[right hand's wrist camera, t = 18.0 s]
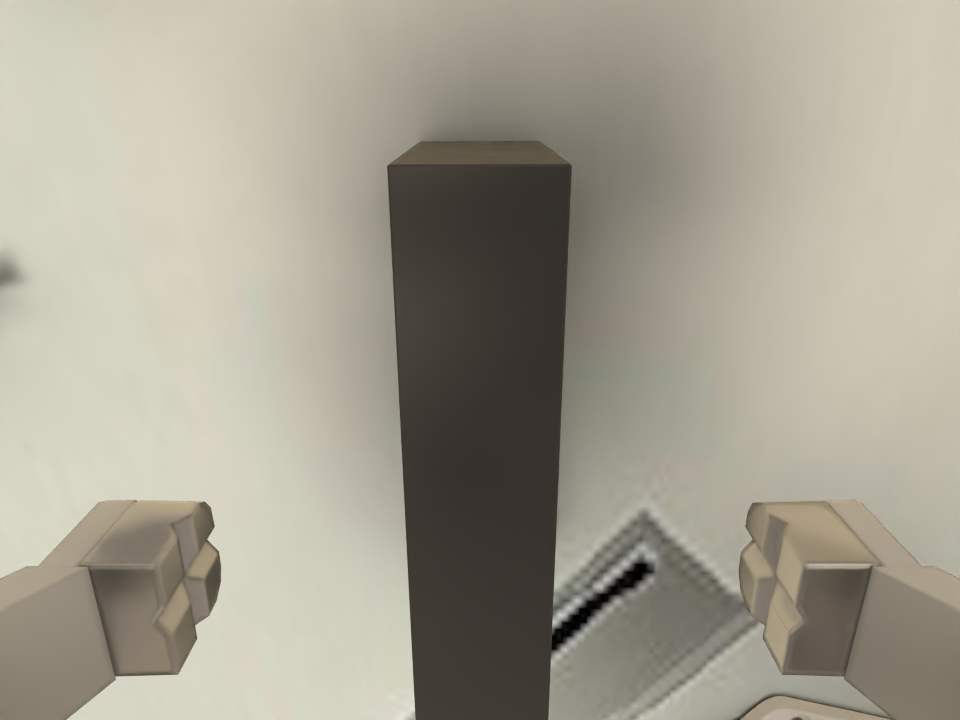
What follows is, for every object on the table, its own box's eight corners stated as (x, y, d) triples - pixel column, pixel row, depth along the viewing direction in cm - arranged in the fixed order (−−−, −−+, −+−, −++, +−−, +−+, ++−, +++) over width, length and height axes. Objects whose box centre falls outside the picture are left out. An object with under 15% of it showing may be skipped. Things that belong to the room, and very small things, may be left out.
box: (419, 141, 34) (386, 164, 22) (540, 141, 34) (572, 163, 22) (433, 552, 43) (415, 724, 31) (529, 552, 43) (548, 724, 31)
